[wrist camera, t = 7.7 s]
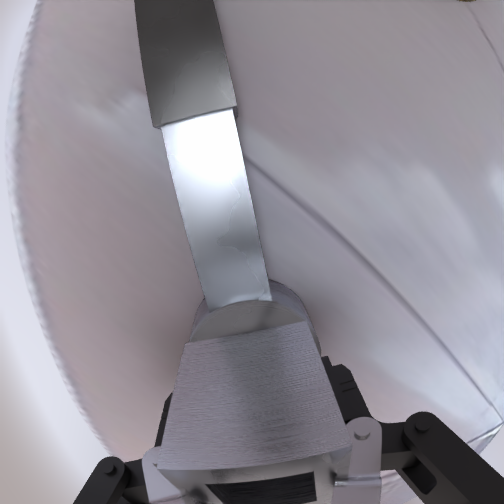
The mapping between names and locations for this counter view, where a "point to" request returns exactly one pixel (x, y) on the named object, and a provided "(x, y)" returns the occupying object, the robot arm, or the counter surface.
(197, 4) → the ratchet
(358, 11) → the counter surface
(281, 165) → the counter surface
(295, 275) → the counter surface
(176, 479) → the hollow square tube
